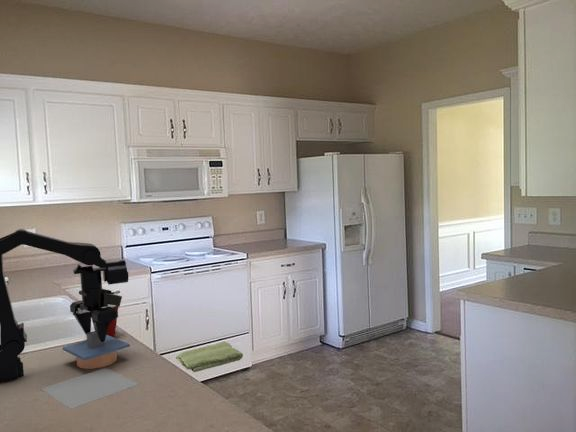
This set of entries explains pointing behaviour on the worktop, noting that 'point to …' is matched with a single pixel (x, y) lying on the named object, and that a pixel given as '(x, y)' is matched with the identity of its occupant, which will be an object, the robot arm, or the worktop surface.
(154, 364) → the worktop surface
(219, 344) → the washcloth
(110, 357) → the bowl
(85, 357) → the cover sheet
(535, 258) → the worktop surface
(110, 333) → the plastic cup
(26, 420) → the worktop surface
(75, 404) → the mat
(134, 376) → the worktop surface
